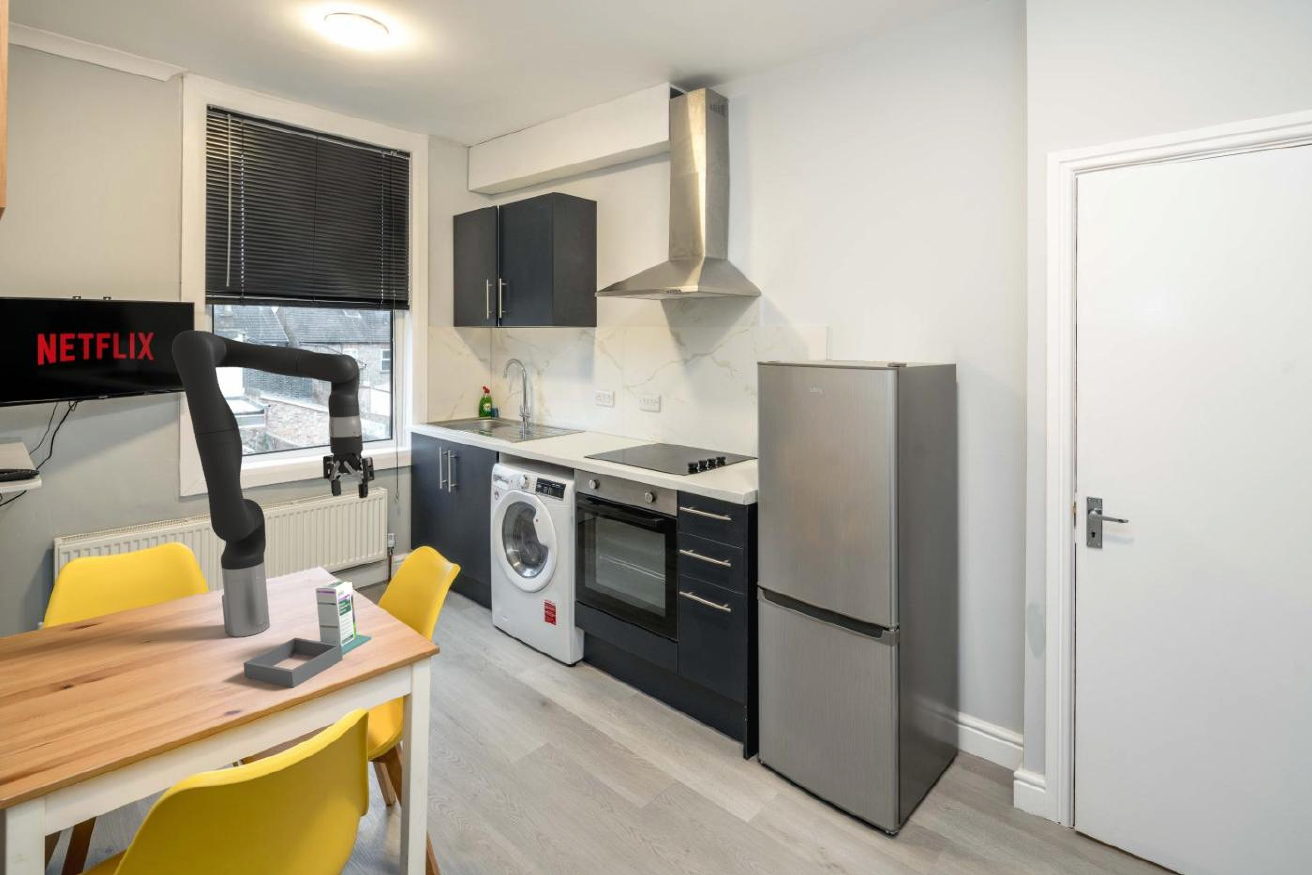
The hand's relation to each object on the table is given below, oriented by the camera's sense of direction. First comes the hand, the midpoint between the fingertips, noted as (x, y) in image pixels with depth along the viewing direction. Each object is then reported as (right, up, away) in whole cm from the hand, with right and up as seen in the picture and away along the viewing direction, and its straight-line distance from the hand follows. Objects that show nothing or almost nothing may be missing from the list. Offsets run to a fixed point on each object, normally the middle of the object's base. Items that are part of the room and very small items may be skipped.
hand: (350, 496), depth 175 cm
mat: (+2, -35, -11) cm, 36 cm away
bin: (-2, -36, -23) cm, 43 cm away
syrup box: (+2, -34, -11) cm, 36 cm away
